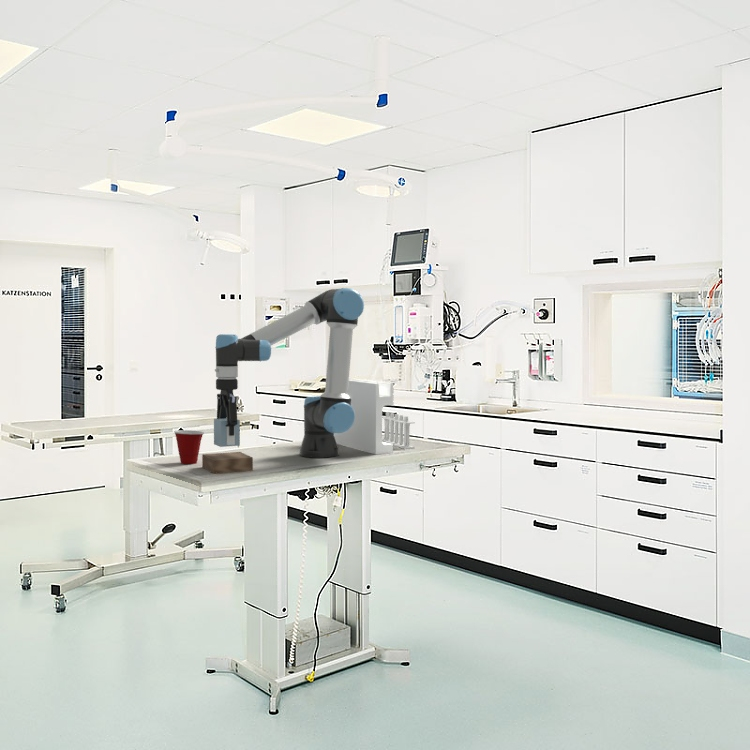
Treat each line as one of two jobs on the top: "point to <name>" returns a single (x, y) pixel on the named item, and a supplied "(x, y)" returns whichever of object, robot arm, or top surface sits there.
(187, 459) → the plastic cup
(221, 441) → the slate block
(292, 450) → the top surface
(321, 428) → the robot arm
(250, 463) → the walnut block
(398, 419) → the test tube rack
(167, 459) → the top surface
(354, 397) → the block
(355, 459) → the top surface
